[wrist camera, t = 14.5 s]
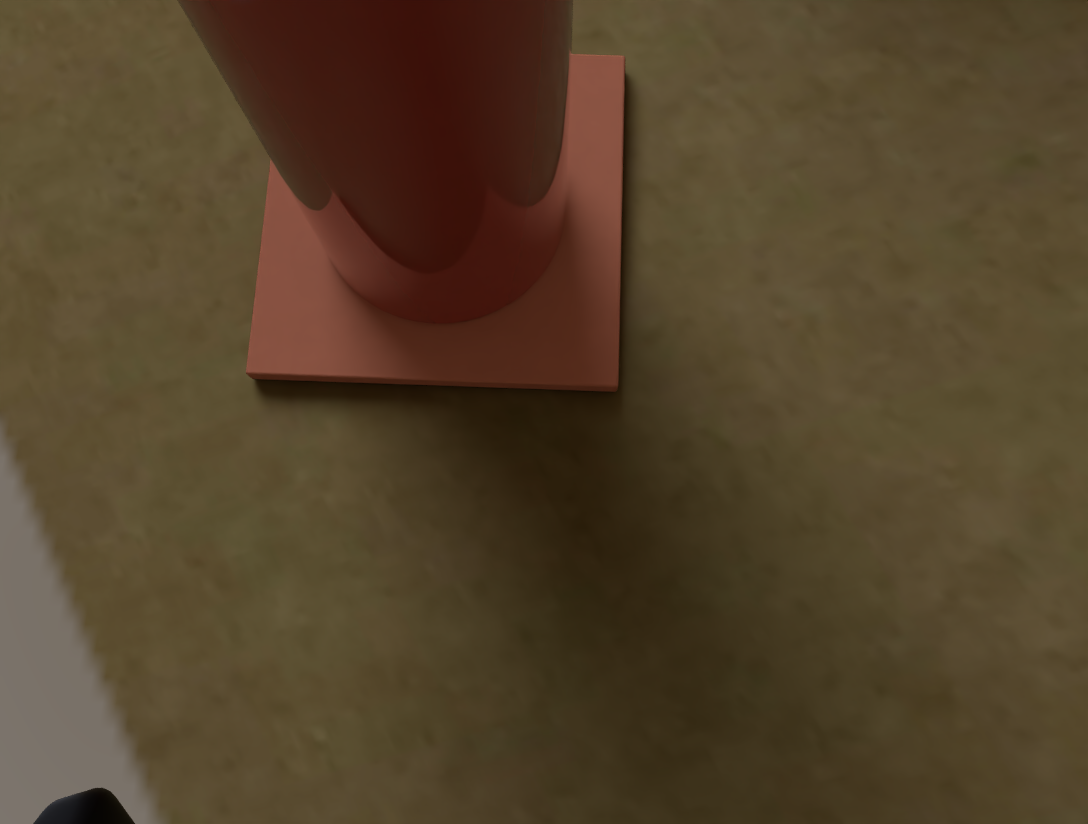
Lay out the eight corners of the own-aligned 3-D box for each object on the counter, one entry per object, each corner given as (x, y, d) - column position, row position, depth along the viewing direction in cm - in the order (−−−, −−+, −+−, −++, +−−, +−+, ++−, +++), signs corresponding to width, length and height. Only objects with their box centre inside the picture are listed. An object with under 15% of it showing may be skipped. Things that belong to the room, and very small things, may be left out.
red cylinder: (616, 216, 18) (732, -529, 7) (427, 375, 18) (181, -144, 6) (457, 54, 19) (308, -861, 7) (270, 199, 18) (-219, -561, 7)
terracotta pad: (617, 392, 18) (618, 386, 17) (251, 379, 18) (245, 374, 18) (623, 66, 19) (625, 54, 19) (288, 56, 20) (283, 44, 19)
